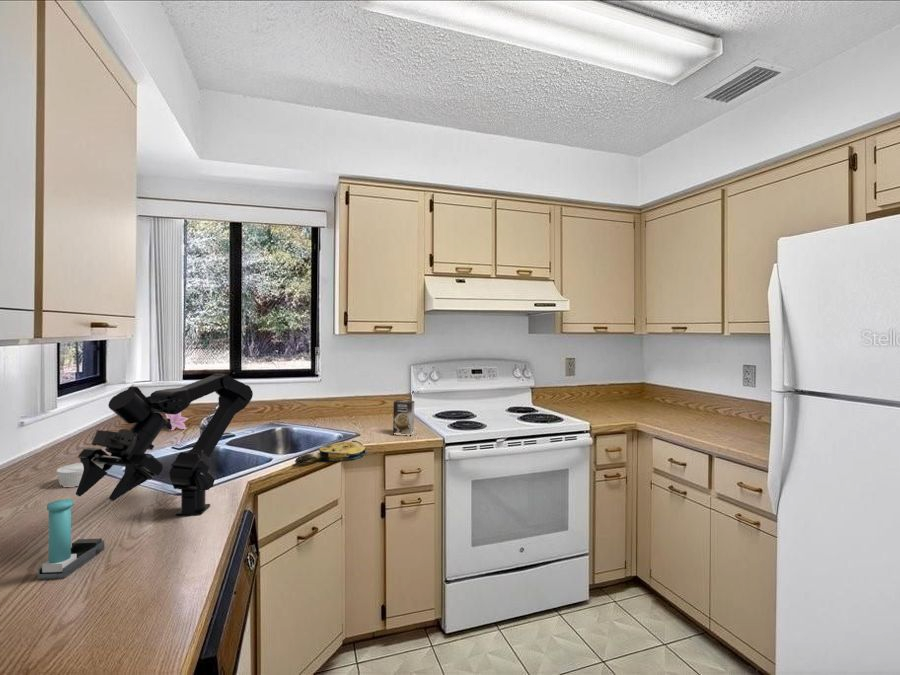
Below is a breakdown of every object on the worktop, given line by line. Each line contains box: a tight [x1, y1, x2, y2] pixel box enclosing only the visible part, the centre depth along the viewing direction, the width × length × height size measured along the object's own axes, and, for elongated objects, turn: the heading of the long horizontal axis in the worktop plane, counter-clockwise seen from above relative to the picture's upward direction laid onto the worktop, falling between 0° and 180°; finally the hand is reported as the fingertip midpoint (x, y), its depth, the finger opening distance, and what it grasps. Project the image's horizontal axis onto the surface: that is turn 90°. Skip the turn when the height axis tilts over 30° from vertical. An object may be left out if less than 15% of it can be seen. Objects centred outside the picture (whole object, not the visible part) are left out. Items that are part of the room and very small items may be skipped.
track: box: [37, 538, 105, 580], centre depth 95 cm, size 12×5×3 cm, turn 6°
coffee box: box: [392, 399, 415, 434], centre depth 221 cm, size 9×6×16 cm
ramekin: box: [55, 462, 84, 487], centre depth 145 cm, size 11×11×5 cm
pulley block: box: [294, 440, 373, 464], centre depth 177 cm, size 14×6×30 cm
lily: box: [164, 411, 189, 431], centre depth 224 cm, size 12×12×10 cm
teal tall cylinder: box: [41, 498, 77, 573], centre depth 92 cm, size 4×4×13 cm
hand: (94, 497), depth 98 cm, fingers open, 9 cm apart
